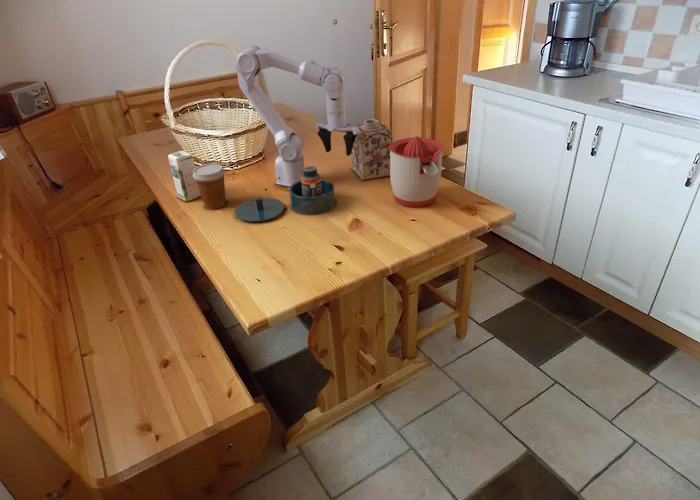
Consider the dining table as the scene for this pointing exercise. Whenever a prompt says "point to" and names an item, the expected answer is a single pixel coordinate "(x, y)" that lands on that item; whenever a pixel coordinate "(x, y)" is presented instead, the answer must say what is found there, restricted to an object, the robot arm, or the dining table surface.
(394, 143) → the citrus juicer
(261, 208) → the pot lid
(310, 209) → the pot
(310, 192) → the supplement bottle
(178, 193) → the syrup box
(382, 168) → the decorative jar
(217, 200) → the disposable coffee cup
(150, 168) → the dining table surface
